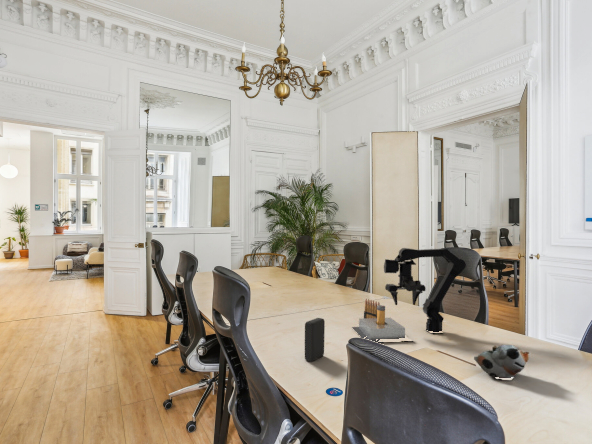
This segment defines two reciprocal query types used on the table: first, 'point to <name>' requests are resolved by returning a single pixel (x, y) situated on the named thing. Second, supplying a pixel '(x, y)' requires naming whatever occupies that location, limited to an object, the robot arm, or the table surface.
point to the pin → (380, 315)
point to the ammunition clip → (370, 309)
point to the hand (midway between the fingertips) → (405, 304)
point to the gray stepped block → (379, 329)
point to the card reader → (314, 339)
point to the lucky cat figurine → (502, 361)
